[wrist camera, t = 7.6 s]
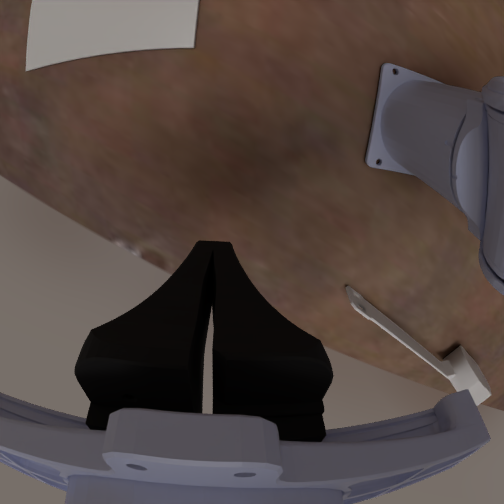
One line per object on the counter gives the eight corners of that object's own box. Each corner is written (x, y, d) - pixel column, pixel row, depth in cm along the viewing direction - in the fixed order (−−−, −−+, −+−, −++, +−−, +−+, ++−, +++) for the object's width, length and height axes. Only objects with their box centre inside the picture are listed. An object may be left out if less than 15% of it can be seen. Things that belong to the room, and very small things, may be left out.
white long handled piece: (367, 241, 28) (338, 269, 29) (398, 294, 21) (358, 327, 22) (481, 363, 39) (464, 376, 41) (498, 397, 32) (479, 411, 34)
